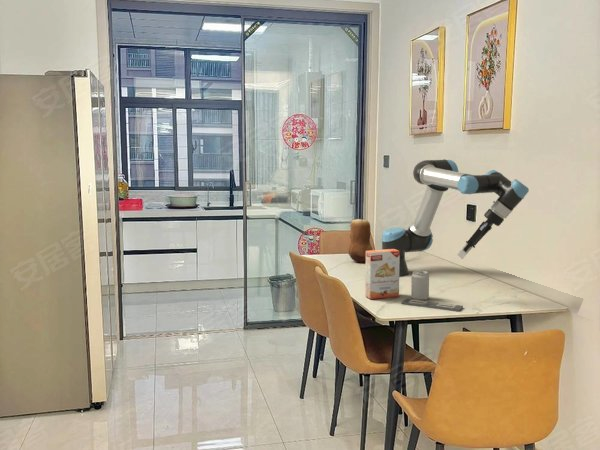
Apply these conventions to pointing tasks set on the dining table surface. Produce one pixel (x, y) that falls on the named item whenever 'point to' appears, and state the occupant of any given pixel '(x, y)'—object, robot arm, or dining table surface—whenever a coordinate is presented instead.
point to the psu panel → (432, 305)
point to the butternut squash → (359, 240)
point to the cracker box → (382, 273)
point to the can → (420, 285)
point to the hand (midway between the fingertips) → (459, 256)
